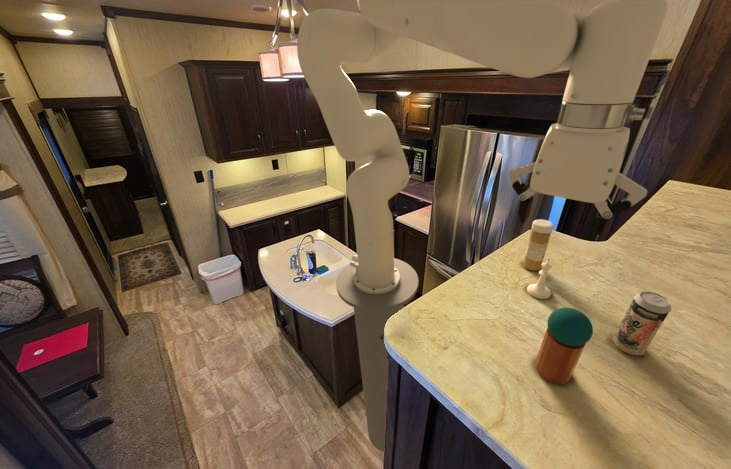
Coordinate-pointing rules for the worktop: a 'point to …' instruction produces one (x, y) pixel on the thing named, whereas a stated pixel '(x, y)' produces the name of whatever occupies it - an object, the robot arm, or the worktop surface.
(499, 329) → the worktop surface
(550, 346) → the tumbler
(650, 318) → the beer can
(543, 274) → the chess piece
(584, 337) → the ball
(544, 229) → the sprinkles bottle
